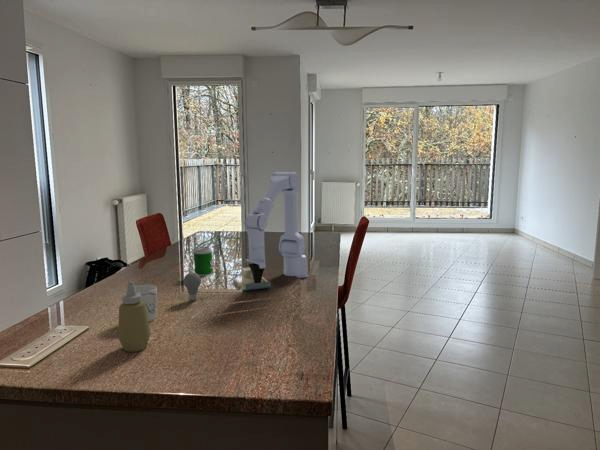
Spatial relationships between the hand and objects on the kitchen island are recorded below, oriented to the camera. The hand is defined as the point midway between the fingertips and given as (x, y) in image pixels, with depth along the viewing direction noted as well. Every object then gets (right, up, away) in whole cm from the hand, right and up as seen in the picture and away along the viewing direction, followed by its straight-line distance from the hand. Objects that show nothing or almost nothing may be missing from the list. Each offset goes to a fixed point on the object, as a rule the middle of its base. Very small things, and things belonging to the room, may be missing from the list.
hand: (257, 283), depth 162 cm
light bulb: (-22, -5, -6) cm, 24 cm away
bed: (-4, -3, +9) cm, 10 cm away
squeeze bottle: (-28, -11, -44) cm, 54 cm away
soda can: (-25, -1, +26) cm, 36 cm away
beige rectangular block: (-4, -1, +11) cm, 12 cm away
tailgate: (-1, -3, +4) cm, 5 cm away
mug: (-34, -9, -25) cm, 43 cm away
